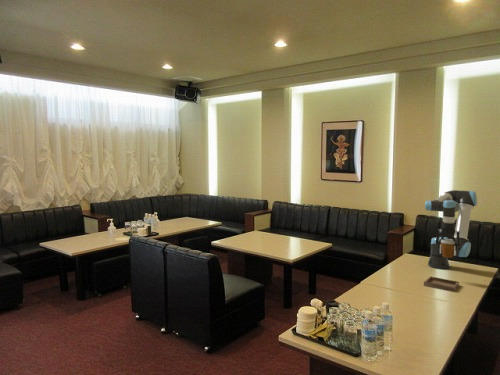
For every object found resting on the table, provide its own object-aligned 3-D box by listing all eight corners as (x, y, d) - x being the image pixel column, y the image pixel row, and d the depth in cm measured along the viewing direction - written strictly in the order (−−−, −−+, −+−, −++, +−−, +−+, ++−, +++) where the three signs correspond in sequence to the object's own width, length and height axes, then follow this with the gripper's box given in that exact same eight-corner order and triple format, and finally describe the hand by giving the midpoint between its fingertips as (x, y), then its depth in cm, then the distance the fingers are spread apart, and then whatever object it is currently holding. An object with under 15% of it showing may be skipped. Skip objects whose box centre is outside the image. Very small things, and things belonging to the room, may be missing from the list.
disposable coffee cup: (451, 255, 256) (452, 238, 255) (457, 258, 246) (458, 241, 245) (437, 254, 257) (438, 238, 256) (443, 258, 247) (444, 241, 246)
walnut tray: (430, 279, 252) (430, 276, 252) (458, 285, 240) (459, 281, 240) (423, 285, 240) (423, 282, 240) (453, 291, 228) (454, 288, 228)
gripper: (431, 221, 254) (430, 252, 255) (464, 224, 240) (463, 257, 242) (433, 220, 259) (432, 250, 261) (467, 223, 246) (465, 255, 247)
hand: (447, 254), depth 251 cm, fingers closed on disposable coffee cup, 8 cm apart
